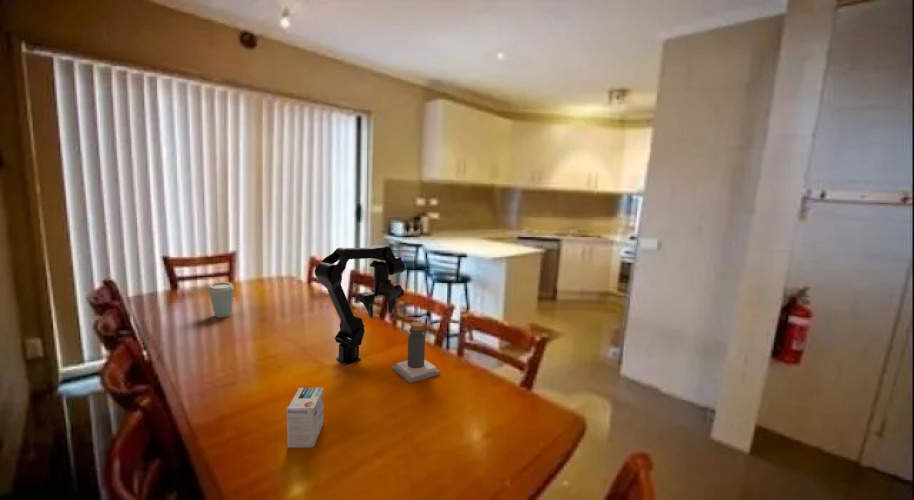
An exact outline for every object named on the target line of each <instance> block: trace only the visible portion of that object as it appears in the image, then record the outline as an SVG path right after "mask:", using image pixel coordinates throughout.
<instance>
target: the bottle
mask: <svg viewBox="0 0 914 500" xmlns="http://www.w3.org/2000/svg"><path fill="white" fill-rule="evenodd" d="M424 324H425V323H424V322H421V321H414V322H413V321H412V322H411V323H409V325H410V328H409V333H410V334H408V336H407V337H408V338H407V360H408V366H409V367H411V368H420V367H423V366H424V359H425V354H426V353H425V352H426V351H425V349H426V336H425V334H424V332H425V328H424V326H425V325H424Z"/></svg>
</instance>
